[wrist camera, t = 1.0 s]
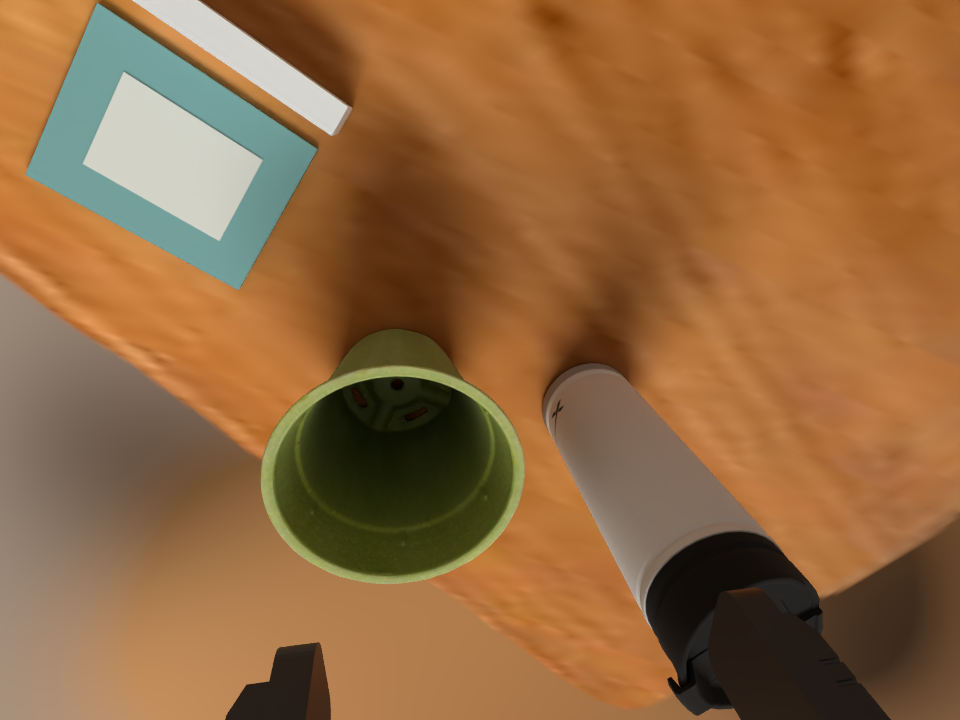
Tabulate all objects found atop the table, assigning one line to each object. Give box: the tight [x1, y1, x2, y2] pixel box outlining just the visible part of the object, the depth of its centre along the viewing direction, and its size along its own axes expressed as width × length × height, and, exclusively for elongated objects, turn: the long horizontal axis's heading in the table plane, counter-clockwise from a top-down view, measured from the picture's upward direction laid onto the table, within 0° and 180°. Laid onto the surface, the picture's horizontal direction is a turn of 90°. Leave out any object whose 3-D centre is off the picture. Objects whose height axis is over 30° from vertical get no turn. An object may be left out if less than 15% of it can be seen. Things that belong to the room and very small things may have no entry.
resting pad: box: [25, 3, 318, 290], centre depth 28 cm, size 9×11×1 cm
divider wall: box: [133, 0, 353, 136], centre depth 24 cm, size 2×16×4 cm, turn 55°
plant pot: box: [261, 329, 525, 584], centre depth 30 cm, size 12×12×11 cm
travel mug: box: [542, 363, 823, 716], centre depth 29 cm, size 6×7×20 cm
